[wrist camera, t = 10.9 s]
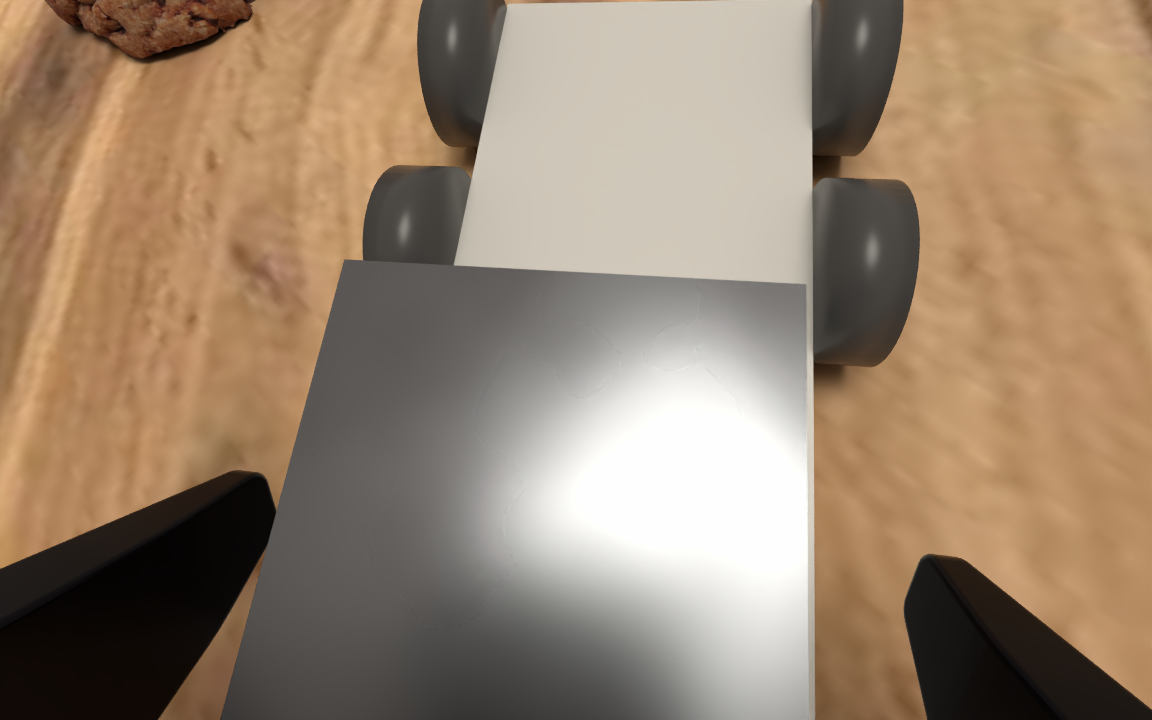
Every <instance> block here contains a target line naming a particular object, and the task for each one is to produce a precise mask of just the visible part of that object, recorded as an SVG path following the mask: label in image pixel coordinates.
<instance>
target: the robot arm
mask: <svg viewBox="0 0 1152 720" xmlns="http://www.w3.org/2000/svg"><path fill="white" fill-rule="evenodd" d="M275 515H276V507H275V504H274V501H273V498H272V494H271V491H270V488H269V484H268V481H267V479H266V478H265V476H264V475H263V474H260V473H258V472H251V471H242V470H235V471H231V472H228V473H225V474H223V475H221V476H218V477H216V478H214V479H211V480H209V481H207V482H204V483H202V484H200V485H197V486H195V487H192V488H190V489H188V490H185V491H183V492H181V493H178V494H176V495H174V496H171V497H169V498H166V499H164V500H162V501H159V502H157V503H155V504H152V505H150V506H148V507H145V508H143V509H141V510H138V511H136V512H133V513H131V514H129V515H126V516H124V517H122V518H119V519H117V520H115V521H112V522H110V523H107V524H105V525H103V526H100V527H98V528H96V529H93V530H91V531H89V532H86V533H84V534H81V535H79V536H77V537H74V538H72V539H70V540H67V541H65V542H63V543H60V544H58V545H56V546H53V547H51V548H48V549H46V550H44V551H41V552H39V553H37V554H34V555H32V556H30V557H27V558H25V559H22V560H20V561H18V562H15V563H13V564H11V565H8V566H6V567H4V568H1V569H0V720H158V719H159V717H160V716H161V715H162V713H163V712H164V710H165V709H166V707H167V706H168V704H169V703H170V701H171V700H172V699H173V697H174V696H175V694H176V693H177V691H178V690H179V688H180V687H181V685H182V684H183V682H184V681H185V680H186V678H187V677H188V675H189V674H190V672H191V671H192V669H193V668H194V666H195V665H196V664H197V662H198V661H199V659H200V658H201V656H202V655H203V653H204V652H205V650H206V649H207V648H208V646H209V645H210V643H211V642H212V640H213V638H214V637H215V635H216V634H217V632H218V631H219V629H220V628H221V626H222V624H223V623H224V621H225V619H226V618H227V616H228V614H229V613H230V611H231V609H232V607H233V606H234V604H235V602H236V600H237V598H238V597H239V595H240V593H241V591H242V590H243V588H244V586H245V584H246V582H247V581H248V579H249V577H250V575H251V574H252V572H253V570H254V568H255V566H256V565H257V563H258V561H259V559H260V558H261V556H262V554H263V552H264V550H265V549H266V547H267V545H268V541H269V537H270V534H271V530H272V526H273V523H274V519H275ZM904 618H905V623H906V628H907V632H908V637H909V641H910V645H911V650H912V654H913V659H914V663H915V667H916V672H917V676H918V681H919V685H920V689H921V694H922V698H923V703H924V707H925V711H926V716H927V720H1152V709H1150V708H1149V707H1148V706H1147V705H1145V704H1144V703H1143V702H1142V701H1140V700H1139V699H1138V698H1137V697H1135V696H1134V695H1133V694H1132V693H1130V692H1129V691H1128V690H1127V689H1125V688H1124V687H1123V686H1122V685H1120V684H1119V683H1118V682H1117V681H1115V680H1114V679H1113V678H1112V677H1110V676H1109V675H1108V674H1107V673H1105V672H1104V671H1103V670H1102V669H1100V668H1099V667H1098V666H1097V665H1095V664H1094V663H1093V662H1092V661H1090V660H1089V659H1088V658H1087V657H1085V656H1084V655H1083V654H1082V653H1080V652H1079V651H1078V650H1077V649H1076V648H1074V647H1073V646H1072V645H1071V644H1069V643H1068V642H1067V641H1066V640H1064V639H1063V638H1062V637H1061V636H1059V635H1058V634H1057V633H1056V632H1054V631H1053V630H1052V629H1051V628H1049V627H1048V626H1047V625H1046V624H1044V623H1043V622H1042V621H1041V620H1039V619H1038V618H1037V617H1036V616H1034V615H1033V614H1032V613H1031V612H1029V611H1028V610H1027V609H1026V608H1024V607H1023V606H1022V605H1021V604H1019V603H1018V602H1017V601H1016V600H1014V599H1013V598H1012V597H1011V596H1009V595H1008V594H1007V593H1006V592H1004V591H1003V590H1002V589H1001V588H999V587H998V586H997V585H996V584H994V583H993V582H992V581H991V580H989V579H988V578H987V577H986V576H984V575H983V574H982V573H981V572H979V571H978V570H977V569H976V568H974V567H973V566H972V565H971V564H969V563H968V562H967V561H965V560H963V559H961V558H958V557H952V556H944V555H935V554H927V555H924V556H923V557H922V558H921V559H920V561H919V563H918V566H917V568H916V571H915V574H914V576H913V579H912V581H911V584H910V587H909V589H908V592H907V595H906V597H905V601H904Z"/></svg>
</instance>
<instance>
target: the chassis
mask: <svg viewBox="0 0 1152 720" xmlns="http://www.w3.org/2000/svg"><path fill="white" fill-rule="evenodd" d="M902 24H903V0H813V1H812V4H811V0H728V1H665V2H601V3H537V4H508V7H506V4H505V1H504V0H423V1H422V4H421V9H420V14H419V21H418V34H417V50H418V66H419V74H420V82H421V87H422V93H423V97H424V101H425V105H426V108H427V112H428V115H429V117H430V120H431V122H432V125H433V127H434V129H435V131H436V133H437V134H438V136H439V137H440V139H441V140H442V141H443V142H444V143H445V144H446V145H448V146H451V147H478V151H477V156H476V161H475V165H474V170H473V175H472V180H471V178H470V177H469V175H468V174H467V173H466V172H465V171H464V170H463V169H461V168H459V167H444V166H410V165H397V166H393V167H391V168H389V169H387V170H386V171H385V172H384V173H383V174H382V175H381V177H380V178H379V179H378V181H377V183H376V184H375V186H374V188H373V191H372V193H371V196H370V199H369V202H368V206H367V210H366V214H365V221H364V229H363V261H381V262H400V263H419V264H437V265H456V266H475V267H494V268H512V269H531V270H550V271H569V272H587V273H606V274H625V275H643V276H662V277H681V278H700V279H718V280H737V281H756V282H775V283H793V284H806V300H807V483H808V667H809V720H815V605H814V407H813V363H823V364H836V365H849V366H862V367H874V366H877V365H878V364H880V363H881V362H882V361H883V360H885V359H886V358H887V356H888V355H889V354H890V352H891V351H892V349H893V348H894V346H895V344H896V343H897V341H898V339H899V337H900V335H901V332H902V330H903V327H904V325H905V322H906V319H907V316H908V313H909V310H910V306H911V302H912V299H913V294H914V289H915V284H916V278H917V271H918V263H919V247H920V233H919V220H918V212H917V207H916V203H915V200H914V197H913V195H912V193H911V191H910V189H909V187H908V186H907V185H906V184H905V183H904V182H902V181H900V180H887V179H853V178H823V179H821V180H820V181H819V182H818V183H817V184H816V186H815V187H814V189H813V191H812V155H818V156H856V155H858V154H859V153H860V152H861V151H862V150H863V149H864V148H865V147H866V145H867V144H868V142H869V141H870V139H871V137H872V135H873V133H874V131H875V129H876V127H877V125H878V122H879V120H880V118H881V115H882V112H883V110H884V107H885V104H886V101H887V98H888V95H889V91H890V88H891V84H892V80H893V76H894V72H895V68H896V63H897V59H898V53H899V48H900V41H901V34H902Z"/></svg>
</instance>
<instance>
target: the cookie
mask: <svg viewBox="0 0 1152 720" xmlns="http://www.w3.org/2000/svg"><path fill="white" fill-rule="evenodd" d="M45 1H46V2H47V4H48V5H49V6H50V7H51V8H52V9H53V11H54V12H55V13H56V14H57V15H58V16H59V17H60V18H61V19H63V20H64V21H66V22H67V23H68V24H70V25H72V26H75V25H78V26H79V25H80V24H81V23H82V24H83V27H84V29H86V30H88V31H89V32H91V33H95V34H96V35H102V36H104V37H106V38H108V39H110V40H111V41H112V42H113V43H114V44H115V45H117V46H118V47H119V48H120V49H121V50H122V51H123V52H124V53H126V54H128V55H131V56H132V57H136V58H145V57H148V56H150V55H152V54H154V53H160V52H162V51H164V50H170V49H171V48H172V47H179V46H182V45H185V44H192V43H194V42H196V41H200V40H204V39H206V38H208V37H209V36H211V35H214V34H216V33H217V32H218V27H220V28H221V29H222V30H223V29H224V28H226V27H227V26H230V27H234V24H235V22H236V21H237V20H238V19H247V20H248V18H249V16H250V15H251V14H252V13H253V12H252V10H251V7H252V5H249V4H250V3H252V2H254V1H255V0H45ZM223 31H224V32H225V30H223Z"/></svg>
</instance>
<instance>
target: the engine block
mask: <svg viewBox="0 0 1152 720" xmlns="http://www.w3.org/2000/svg"><path fill="white" fill-rule="evenodd" d="M220 720H809V667H808V483H807V300H806V284H793V283H775V282H756V281H737V280H718V279H700V278H681V277H662V276H643V275H625V274H606V273H587V272H569V271H550V270H531V269H512V268H494V267H475V266H456V265H437V264H419V263H400V262H381V261H362V260H344V263H343V267H342V271H341V274H340V278H339V282H338V286H337V289H336V293H335V297H334V300H333V304H332V308H331V311H330V315H329V319H328V323H327V326H326V330H325V334H324V337H323V341H322V345H321V349H320V352H319V356H318V360H317V363H316V367H315V371H314V374H313V378H312V382H311V386H310V389H309V393H308V397H307V400H306V404H305V408H304V411H303V415H302V419H301V423H300V426H299V430H298V434H297V437H296V441H295V445H294V448H293V452H292V456H291V460H290V463H289V467H288V471H287V474H286V478H285V482H284V486H283V489H282V493H281V497H280V500H279V504H278V508H277V511H276V515H275V519H274V523H273V526H272V530H271V534H270V537H269V541H268V545H267V548H266V552H265V556H264V560H263V563H262V567H261V571H260V574H259V578H258V582H257V586H256V589H255V593H254V597H253V600H252V604H251V608H250V611H249V615H248V619H247V623H246V626H245V630H244V634H243V637H242V641H241V645H240V648H239V652H238V656H237V660H236V663H235V667H234V671H233V674H232V678H231V682H230V686H229V689H228V693H227V697H226V700H225V704H224V708H223V711H222V715H221V719H220Z"/></svg>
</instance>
